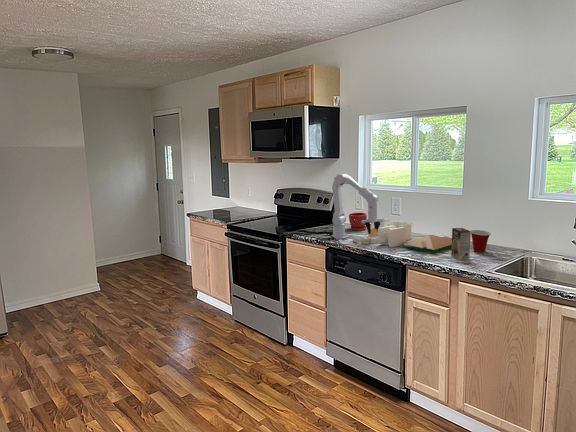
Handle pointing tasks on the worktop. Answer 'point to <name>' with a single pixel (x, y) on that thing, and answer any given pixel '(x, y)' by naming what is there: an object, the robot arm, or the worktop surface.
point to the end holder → (372, 240)
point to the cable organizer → (391, 236)
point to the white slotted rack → (397, 224)
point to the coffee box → (460, 243)
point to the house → (429, 243)
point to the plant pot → (357, 221)
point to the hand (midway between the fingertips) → (372, 233)
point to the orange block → (373, 232)
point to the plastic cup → (479, 240)
